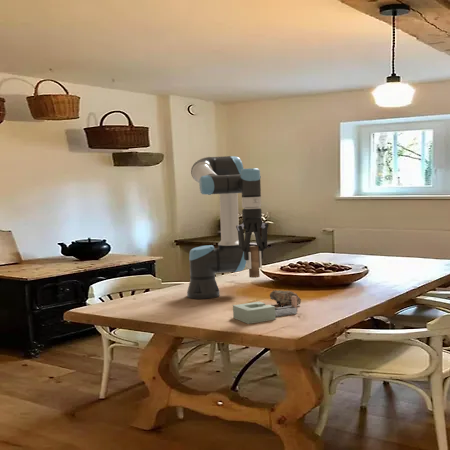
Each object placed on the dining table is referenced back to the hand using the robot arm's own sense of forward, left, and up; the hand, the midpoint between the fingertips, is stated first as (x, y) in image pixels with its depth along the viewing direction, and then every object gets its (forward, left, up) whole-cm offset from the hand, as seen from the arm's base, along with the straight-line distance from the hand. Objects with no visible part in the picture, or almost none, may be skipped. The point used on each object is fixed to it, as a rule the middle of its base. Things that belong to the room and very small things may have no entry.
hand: (254, 267), depth 241 cm
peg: (0, 0, -4) cm, 4 cm away
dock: (+3, -2, -19) cm, 20 cm away
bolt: (+3, +12, -19) cm, 23 cm away
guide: (+3, +10, -19) cm, 22 cm away
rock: (-11, +21, -20) cm, 30 cm away
